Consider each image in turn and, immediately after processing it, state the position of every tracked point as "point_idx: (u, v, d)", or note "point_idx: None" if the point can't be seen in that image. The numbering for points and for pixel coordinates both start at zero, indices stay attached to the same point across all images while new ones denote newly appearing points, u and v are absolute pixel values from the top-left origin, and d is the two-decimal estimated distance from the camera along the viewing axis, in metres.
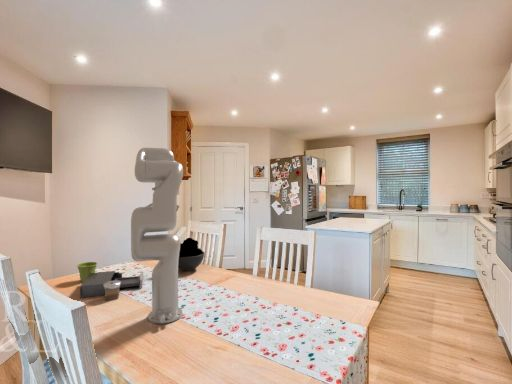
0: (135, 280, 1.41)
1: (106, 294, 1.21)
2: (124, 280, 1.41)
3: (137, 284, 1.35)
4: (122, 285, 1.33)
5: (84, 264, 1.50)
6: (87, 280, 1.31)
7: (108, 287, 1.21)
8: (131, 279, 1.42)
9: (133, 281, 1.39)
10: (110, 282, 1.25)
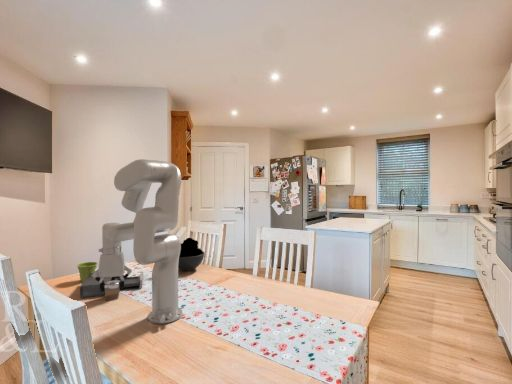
0: (135, 280, 1.41)
1: (106, 294, 1.21)
2: (124, 280, 1.41)
3: (137, 284, 1.35)
4: None
5: (84, 264, 1.50)
6: (87, 280, 1.31)
7: (108, 287, 1.21)
8: (131, 279, 1.42)
9: (133, 281, 1.39)
10: (110, 282, 1.25)
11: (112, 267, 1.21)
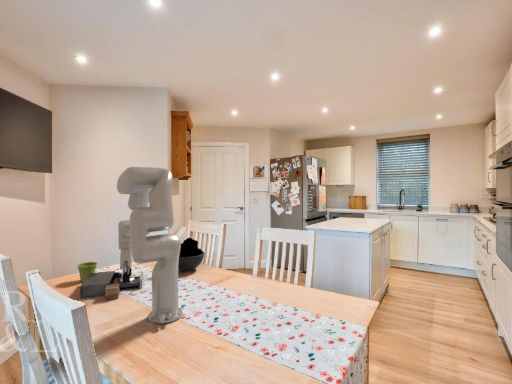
0: (135, 280, 1.41)
1: (106, 294, 1.21)
2: None
3: (137, 284, 1.35)
4: (122, 285, 1.33)
5: (84, 264, 1.50)
6: (87, 280, 1.31)
7: None
8: None
9: None
10: None
11: None
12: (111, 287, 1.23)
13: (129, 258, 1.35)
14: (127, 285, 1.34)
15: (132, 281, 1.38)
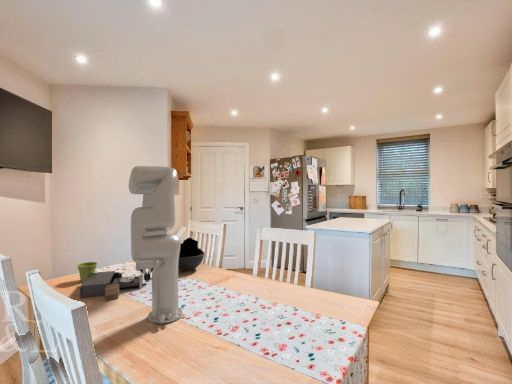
0: (135, 280, 1.41)
1: (106, 294, 1.21)
2: None
3: (137, 284, 1.35)
4: (122, 285, 1.33)
5: (84, 264, 1.50)
6: (87, 280, 1.31)
7: None
8: None
9: None
10: (129, 277, 1.40)
11: None
12: (111, 287, 1.23)
13: None
14: (127, 285, 1.34)
15: (132, 281, 1.38)
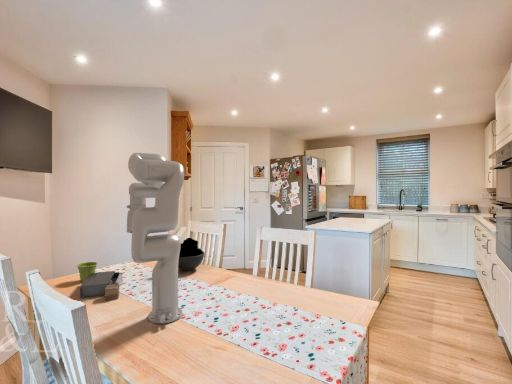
0: (112, 282, 1.37)
1: (106, 294, 1.21)
2: None
3: None
4: None
5: (84, 264, 1.50)
6: (87, 280, 1.31)
7: None
8: None
9: None
10: None
11: None
12: (111, 287, 1.23)
13: None
14: None
15: None
